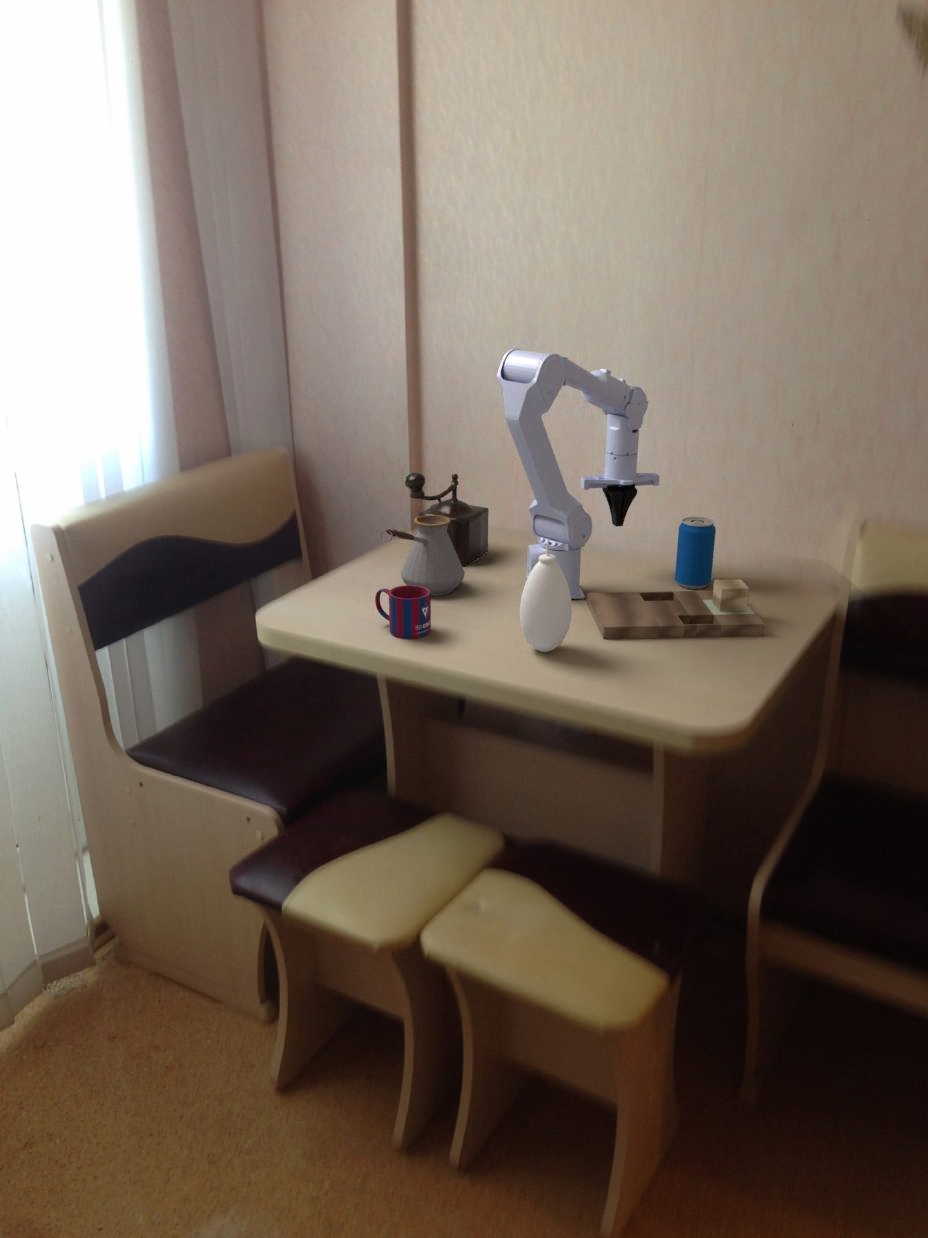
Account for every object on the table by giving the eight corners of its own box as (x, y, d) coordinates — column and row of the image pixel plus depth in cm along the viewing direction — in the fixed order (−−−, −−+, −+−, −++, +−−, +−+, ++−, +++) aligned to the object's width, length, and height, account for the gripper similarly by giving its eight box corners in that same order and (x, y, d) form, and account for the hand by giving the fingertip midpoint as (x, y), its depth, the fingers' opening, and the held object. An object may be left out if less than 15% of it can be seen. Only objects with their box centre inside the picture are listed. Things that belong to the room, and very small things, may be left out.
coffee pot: (421, 574, 201) (420, 496, 196) (475, 584, 196) (476, 504, 191) (358, 610, 184) (355, 525, 178) (416, 622, 179) (415, 535, 173)
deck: (603, 638, 172) (604, 627, 171) (586, 603, 187) (587, 592, 186) (763, 635, 174) (764, 624, 173) (733, 601, 188) (734, 590, 188)
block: (719, 611, 178) (721, 588, 177) (712, 602, 182) (714, 579, 181) (746, 611, 178) (748, 588, 177) (738, 601, 182) (740, 579, 181)
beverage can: (708, 579, 199) (714, 516, 195) (712, 591, 193) (718, 526, 189) (673, 578, 200) (678, 515, 195) (676, 589, 194) (681, 525, 189)
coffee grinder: (440, 544, 219) (440, 457, 212) (489, 552, 214) (490, 463, 207) (401, 566, 206) (399, 473, 199) (452, 575, 201) (452, 480, 194)
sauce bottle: (556, 663, 163) (561, 550, 156) (510, 653, 166) (513, 542, 160) (577, 646, 169) (582, 536, 163) (532, 636, 173) (535, 528, 166)
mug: (412, 642, 170) (411, 602, 168) (366, 627, 176) (365, 588, 174) (439, 630, 175) (439, 590, 173) (393, 616, 181) (393, 577, 179)
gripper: (591, 458, 189) (587, 533, 194) (668, 455, 192) (662, 528, 197) (577, 450, 195) (574, 522, 200) (652, 446, 198) (647, 517, 203)
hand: (617, 524), depth 199 cm, fingers closed
